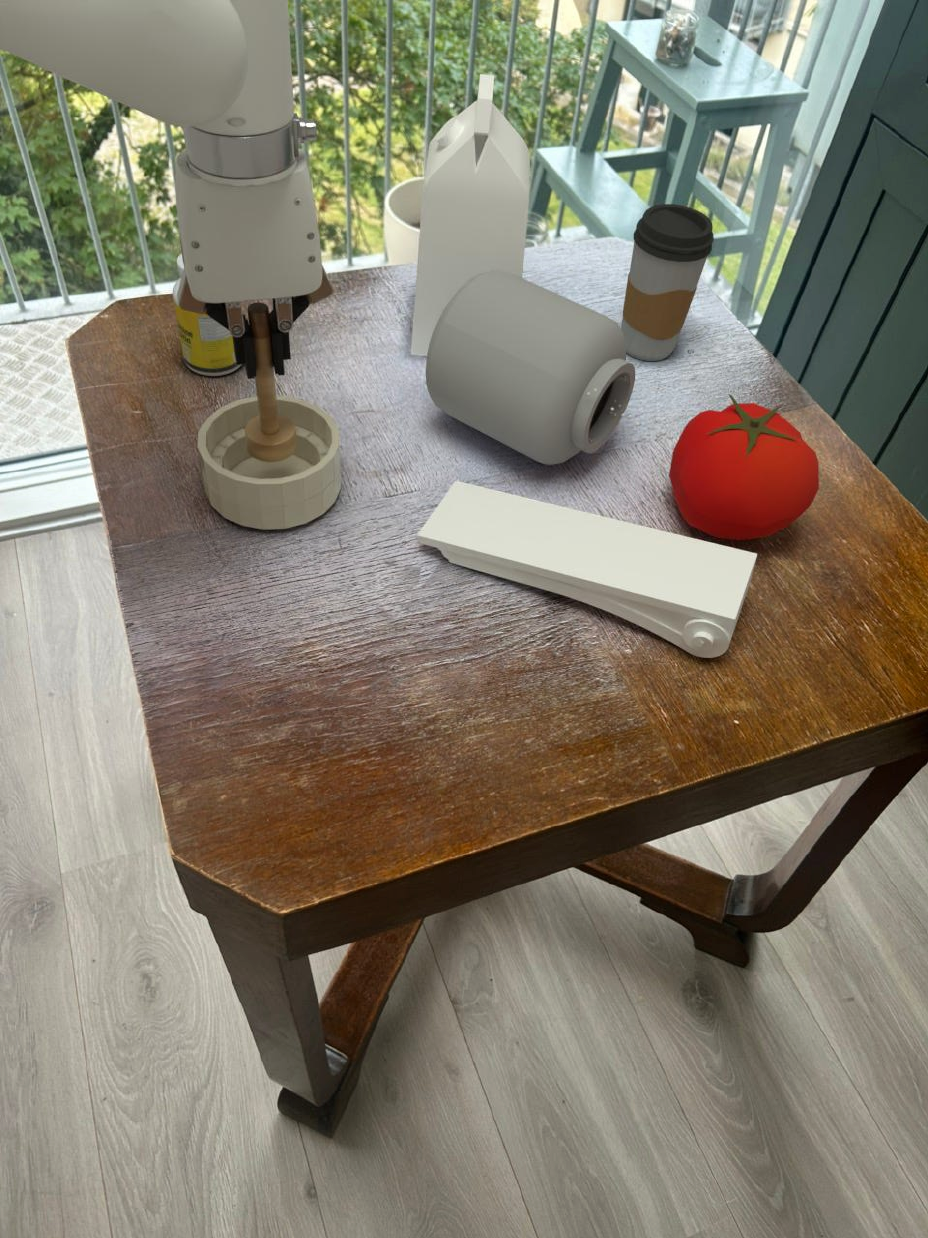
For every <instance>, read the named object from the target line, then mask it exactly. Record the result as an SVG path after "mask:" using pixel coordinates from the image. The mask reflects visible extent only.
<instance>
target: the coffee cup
mask: <svg viewBox="0 0 928 1238" xmlns="http://www.w3.org/2000/svg"><path fill="white" fill-rule="evenodd" d="M713 226H714V225H713V222H712V220H711V218H709V217H708V216H707V215H706V214H704V213H703V212H701V211H700V210H697V209H695V208H692V207H690V206H685V205H682V204H675V203H662V204H655V205H653V206H650V207H648V208H646V210H644V213H643V214H642V217H641V218H639V220H638V221H637V223H636V227H635V230H634V233H633V241H634V242H633V248H632V254H631V261H630V267H629V272H628V274H627V281H626V287H625V295H624V301H623V307H622V320H621V326H620V329H621V331H622V333H623V335H624V337H625V344H626V354H628V355H629V356H631V357H633V358H635V359H637V360H640V361H646V362H657V361H662V360H665V359H667V358H668V357H669V356H670V355H671V354H672V353H673V352H674V350H675V348H676V345H677V342H678V340H679V338H680V335H681V331H682V329H683V327H684V325H685V322H686V319H687V316H688V314H689V311H690V308H691V305H692V303H693V301H694V297H695V295H696V293H697V292H696V291H697V289H698V288H697V287H698V284H699V281H700V279H701V276H702V274H703V273H702V272H703V270H704V268H705V264H706V263H707V262H706V261H707V259H708V256H709V255H711V252H712V251H713V242H714V233H713V228H714V227H713Z"/></svg>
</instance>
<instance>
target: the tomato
mask: <svg viewBox="0 0 928 1238" xmlns="http://www.w3.org/2000/svg"><path fill="white" fill-rule="evenodd" d="M727 395H728V396H729V398H730V400H731V402H732V404H730V405H728V406H727V407H725V408H724V409H722V410H720V411H718V410H713V409H707V410H704V411H700V412H699V413H698V414H696V415H695V416H694V417H692V418H691V419H690V420H689V421H688V422H687V424H686V425H685V426H684V428H683V430H682V432H681V434H680V436H679V438H678V440H677V441H676V443H675V446H674V447H673V451H672V456H671V460H670V467H669V474H668V476H669V481H670V484H671V489H672V493H673V497H674V501H675V504H676V506H677V508H678V510H679V512H680V514H681V515H682V518H683V519H684V521H685V522H686V523H687V524H688V526H691V528H694V529H697V530H698V531H699V530H700V532H703V533H705V534H706V535H709V536H712V537H714V538H717V539H718V538H719V539H727V540H736V541H745V540H752V539H760V538H764V537H768V536H771V535H773V534H775V533H777V532H779V531H781V530H783V529H786V528H787V527H789V526H790V525H791V524H792V523H794V522H795V521H797V519H799V518H800V517H801V516H803V514H804V513H805V512H806V511H808V509H809V508H810V507H811V506H812V504H813V502H814V500H815V498H816V495H817V493H818V491H819V489H820V482H819V480H820V476H819V475H820V472H819V459H818V457H817V456H818V455H817V453H816V451H815V450H814V449H813V448H812V447H811V446H810V445H809V444H808V443H807V442H806V441H805V440H804V439H803V436H802V433H801V432H800V431H799V430H798V429H797V428H796V427H795V426H793V425H792V424H791V423H790V422H789V421H788V420H786V418H784V417H783V416H782V415H781V414H780V413H778V412H777V411H778V410H779V409H780V408H781V407H782V406H783V405H784V403H781V404H780V405H779V406H777V407H775V408H774V409H772V410H771V409H768V408H767V407H764V406H762V405H760V404H757V403H754V402H751V403H750V402H748V403H747V402H745V403H738V402H737V400H736V399H735V398H734V396H733V395H731V394H730V393H727Z"/></svg>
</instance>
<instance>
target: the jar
mask: <svg viewBox="0 0 928 1238" xmlns="http://www.w3.org/2000/svg"><path fill="white" fill-rule="evenodd" d="M425 364H426V365H425V385H426V388H427V392H428V395H429V397H430V399H431V400H432V402H433V404H434V406H435V407H436V408H438V409H439V410H440V411H442V412H444V413H445V414H446V415H448V416H449V417H451V418H453V419H456V420H457V421H458V422H461V423H463V424H465V425H467V426H469V427H470V428H473V429H475V430H476V431H478V432H480V433H482V434H484V435H486V436H488V437H490V438H492V439H493V440H496V441H497V442H499V443H501V444H503V445H504V446H506V447H509V448H510V449H513V450H514V451H516V452H519V453H520V454H522V455H524V456H526V457H528V458H529V459H531V460H533V461H535V462H537V463H541V464H542V465H548V466H552V465H558V464H562V463H565V462H567V461H568V460H570V459H571V458H572V457H574V456H576V455H577V454H579V453H580V452H581V451H582V452H584V453H586V454H593V453H595V452H596V451H598V450H599V449H600V448H601V447H602V446H604V445H605V444H606V442H607V441H608V439H609V438H610V437H611V436H612V434H613V433H614V432H615V430H616V428H617V427H618V425H619V423H620V422H621V420H622V418H623V417H625V413H626V409H627V407H628V405H629V403H630V401H631V397H632V394H633V392H634V387H635V383H636V367H635V365H634V364H633V363H631V362H629V361H627V353H626V344H625V337H624V335H623V333H622V331H621V326H620V325H619V324H618V322H616V321H615V320H613V319H611V318H610V317H608V316H607V315H605V314H603V313H600V312H598V311H596V310H594V309H592V308H589V307H586V306H585V305H583V304H580V303H579V302H578V303H577V302H576V301H573V300H571V299H569V298H567V297H565V296H563V295H561V294H558V293H555V292H553V291H551V290H550V289H547V288H544V287H543V286H540V285H538V284H536V283H535V282H534V283H533V282H531V281H529V280H527V279H525V278H523V277H522V278H520V277H518V276H516V275H513V274H511V273H509V272H505V271H502V270H491V271H487V272H484V273H480V274H478V275H476V276H475V277H473V278H471V279H470V280H469V281H468V282H467V283H465V284H464V285H463V286H462V287H461V288H460V289H459V290H458V292H457V293H456V294H455V295H454V296H453V297H452V299H451V300H450V301H449V303H448V304H447V306H446V307H445V309H444V310H443V312H442V314H441V316H440V318H439V319H438V322H437V324H436V326H435V329H434V331H433V334H432V337H431V340H430V343H429V348H428V353H427V356H426V363H425ZM627 419H629V420H630V419H633V415H632V414H628V416H627ZM654 421H655V423H657V422H659V419H658V418H655V420H654ZM634 425H635V426H636V427H640V426H641V422H640V421H636V422H635V423H634ZM666 435H667V431H666V430H665V429H661V431H660V432H659V433H657V434H656V435H655V437H656V439H660V437H661V436H662V437H663V436H666ZM646 436H647V437H650V436H651V433H649V432H648V433H646ZM668 439H669V440H673V439H674V436H673V434H669V435H668Z"/></svg>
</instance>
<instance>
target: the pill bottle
mask: <svg viewBox="0 0 928 1238" xmlns="http://www.w3.org/2000/svg"><path fill="white" fill-rule="evenodd" d="M176 267H177V273H178V276H179V278H178V279H177V280H176V281H175V283H174V285H173V287H172V299H173V305H174V310H175V311H174V312H175V317H176V323H177V328H178V333H179V334H178V335H179V339H180V346H181V347H180V348H181V353H182V354H181V355H182V359H183V362H184V364H185V366H186V367H187V368H188V369H190V371H192V372H194V373H196V374H198V375H202V376H206V377H219V376H225V375H228V374H231V373H233V372H234V371H237V370H238V369H239V368H240V367H242V365H237V363H236V359H235V353H234V346H233V338H232V335H231V334H230V331H229V330H228V329H226V328H225V327H224V326H222V325H221V324H219V323H218V322H216V321H215V320H213V319H212V318H210V317H209V316H208V315H207V314H198V313H194V312H190V311H186V310H182V309H181V308H180V307H179V305H178V300H177V293H178V289H179V285H180V281H181V277H182V274H183V270H184V264H183V259H182V252H181V253H180V254H179V255H178V257H177V258H176Z"/></svg>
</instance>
